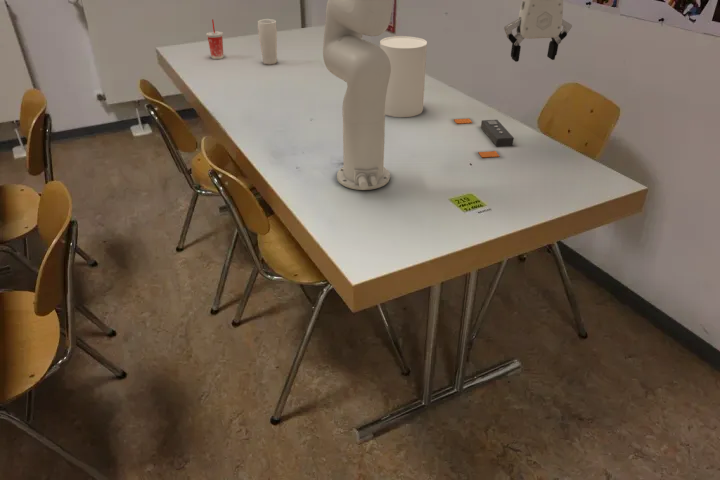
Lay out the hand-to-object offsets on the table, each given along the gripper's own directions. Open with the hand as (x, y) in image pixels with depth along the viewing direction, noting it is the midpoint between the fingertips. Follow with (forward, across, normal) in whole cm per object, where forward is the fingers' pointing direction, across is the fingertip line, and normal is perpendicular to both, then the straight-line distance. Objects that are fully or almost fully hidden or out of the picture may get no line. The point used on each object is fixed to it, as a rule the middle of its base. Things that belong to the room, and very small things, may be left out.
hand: (532, 59), depth 147 cm
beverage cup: (+21, -88, +88) cm, 126 cm away
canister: (+21, -29, +24) cm, 43 cm away
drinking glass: (+21, -68, +78) cm, 106 cm away
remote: (+21, -7, 0) cm, 22 cm away
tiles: (+21, -13, 0) cm, 24 cm away
